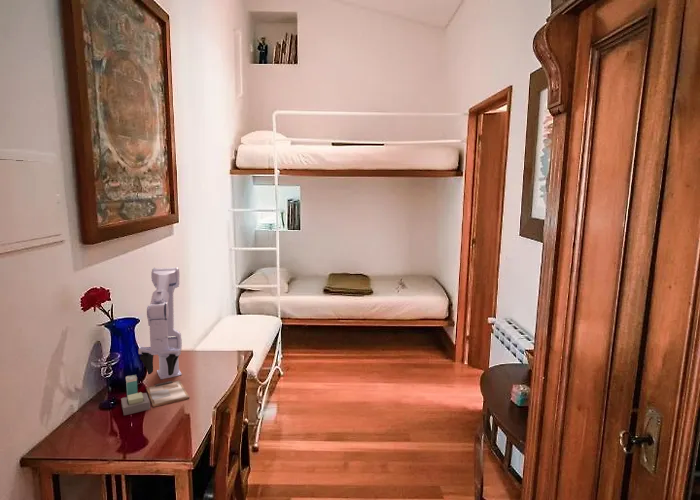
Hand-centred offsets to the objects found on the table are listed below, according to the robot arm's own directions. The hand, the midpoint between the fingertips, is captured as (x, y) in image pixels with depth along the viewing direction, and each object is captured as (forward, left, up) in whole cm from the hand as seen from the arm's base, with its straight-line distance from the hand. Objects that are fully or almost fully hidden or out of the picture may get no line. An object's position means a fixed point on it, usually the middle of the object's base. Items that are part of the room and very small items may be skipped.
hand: (160, 373), depth 150 cm
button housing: (+2, -9, -10) cm, 13 cm away
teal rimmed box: (-8, -9, -10) cm, 15 cm away
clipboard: (-3, +2, -10) cm, 10 cm away
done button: (+2, -9, -8) cm, 12 cm away
